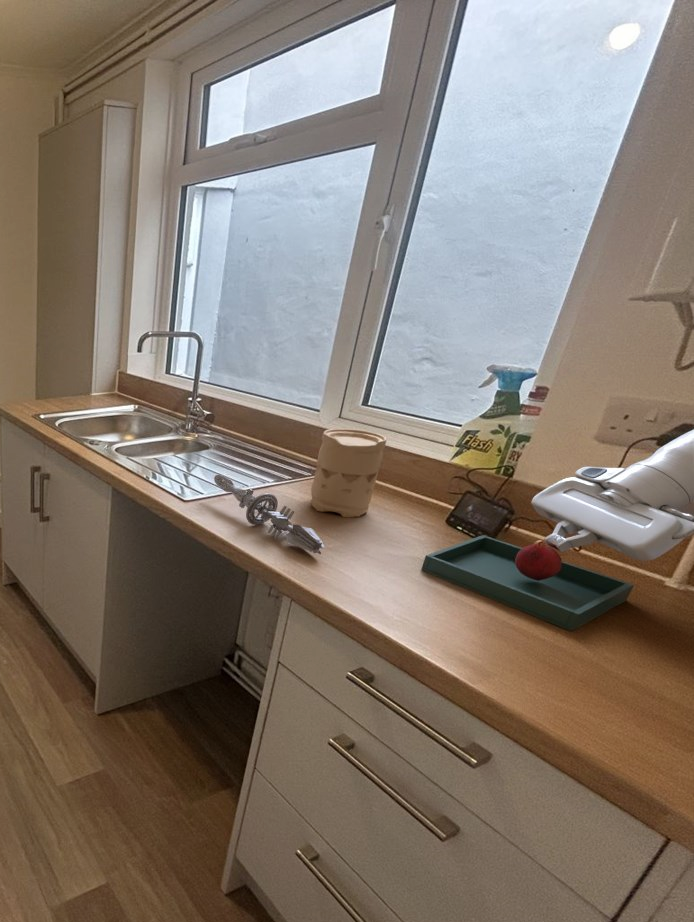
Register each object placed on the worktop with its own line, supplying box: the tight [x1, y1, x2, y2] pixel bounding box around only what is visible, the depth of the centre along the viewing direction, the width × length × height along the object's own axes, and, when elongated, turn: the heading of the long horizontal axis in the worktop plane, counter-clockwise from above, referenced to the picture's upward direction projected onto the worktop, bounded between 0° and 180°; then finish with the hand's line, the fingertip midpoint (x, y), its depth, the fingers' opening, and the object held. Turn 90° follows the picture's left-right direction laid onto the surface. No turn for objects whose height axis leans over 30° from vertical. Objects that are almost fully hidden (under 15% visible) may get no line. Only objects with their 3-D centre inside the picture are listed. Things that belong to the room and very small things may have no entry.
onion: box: [515, 539, 563, 581], centre depth 92 cm, size 6×6×8 cm
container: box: [310, 428, 388, 518], centre depth 124 cm, size 13×13×18 cm
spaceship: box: [213, 474, 326, 555], centre depth 117 cm, size 8×35×8 cm
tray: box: [421, 534, 635, 632], centre depth 93 cm, size 22×20×3 cm
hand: (552, 546), depth 91 cm, fingers closed, pressing on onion
